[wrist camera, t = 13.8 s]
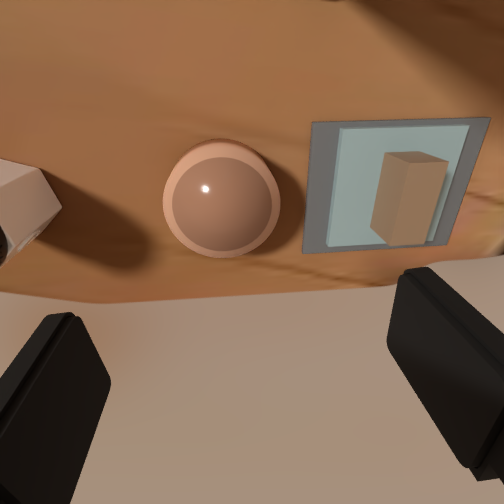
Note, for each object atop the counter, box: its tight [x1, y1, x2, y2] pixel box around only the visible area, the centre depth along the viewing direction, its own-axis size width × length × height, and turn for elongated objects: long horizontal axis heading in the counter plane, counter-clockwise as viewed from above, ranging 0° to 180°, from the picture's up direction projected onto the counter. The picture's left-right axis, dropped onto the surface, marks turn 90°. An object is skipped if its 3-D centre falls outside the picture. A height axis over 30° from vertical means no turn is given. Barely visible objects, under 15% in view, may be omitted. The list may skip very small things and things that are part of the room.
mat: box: [302, 117, 491, 254], centre depth 37 cm, size 20×16×1 cm
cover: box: [326, 124, 469, 247], centre depth 34 cm, size 14×14×6 cm
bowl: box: [163, 139, 280, 258], centre depth 33 cm, size 12×12×5 cm
